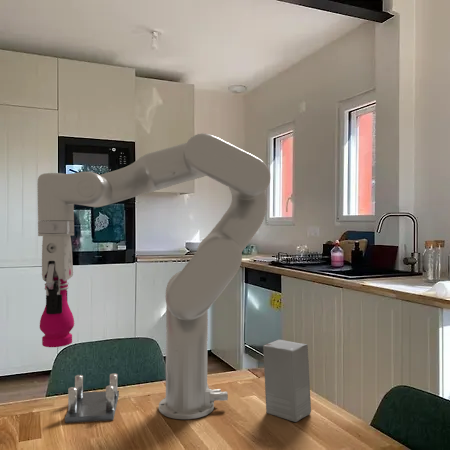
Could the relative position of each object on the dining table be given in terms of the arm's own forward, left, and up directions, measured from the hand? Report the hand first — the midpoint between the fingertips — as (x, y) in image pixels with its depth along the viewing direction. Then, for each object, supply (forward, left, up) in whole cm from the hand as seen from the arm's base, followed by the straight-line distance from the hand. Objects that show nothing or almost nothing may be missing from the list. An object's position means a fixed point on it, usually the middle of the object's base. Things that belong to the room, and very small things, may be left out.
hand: (57, 310), depth 100 cm
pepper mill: (0, 0, -8) cm, 8 cm away
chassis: (-8, -2, -23) cm, 24 cm away
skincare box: (-51, +7, -23) cm, 56 cm away
